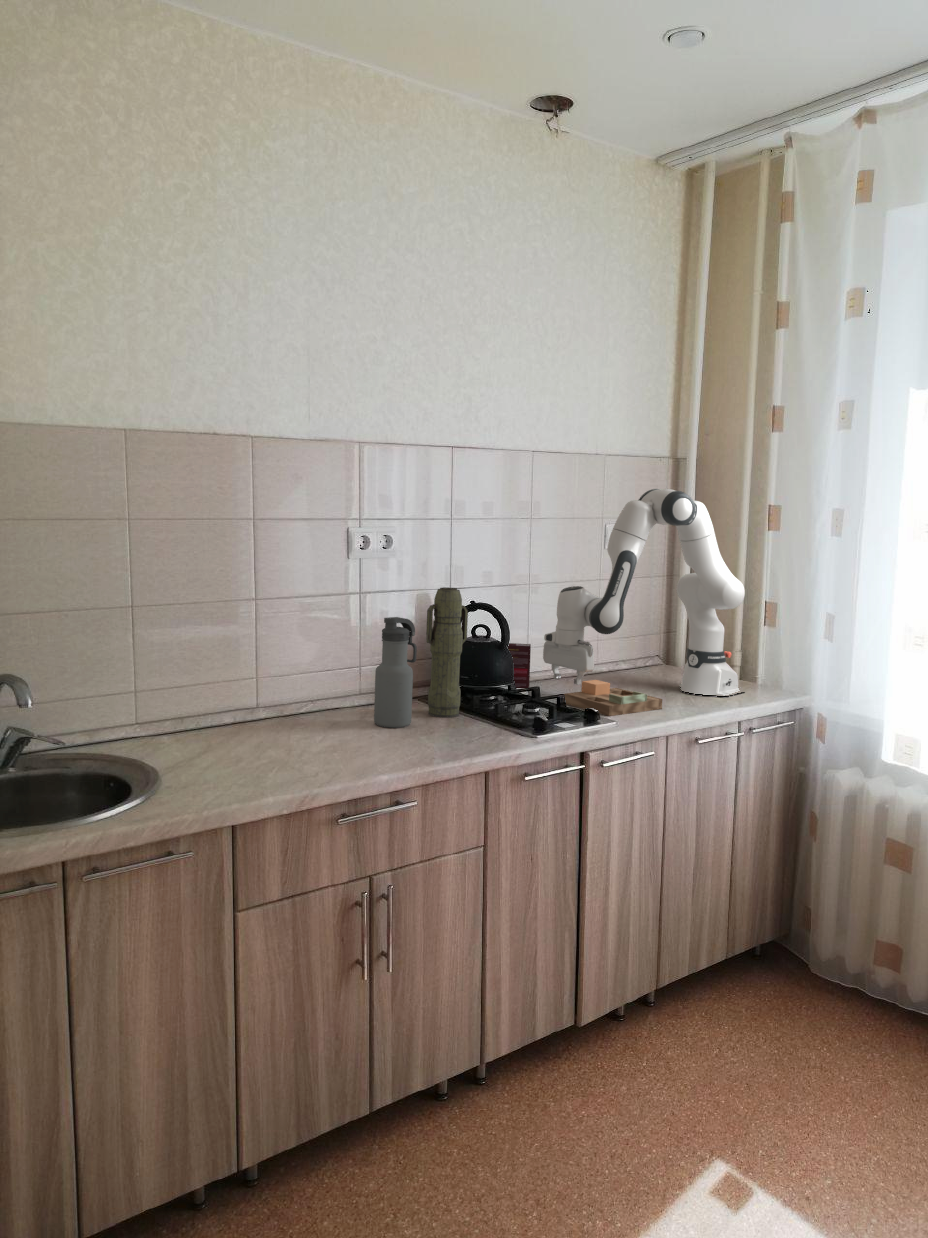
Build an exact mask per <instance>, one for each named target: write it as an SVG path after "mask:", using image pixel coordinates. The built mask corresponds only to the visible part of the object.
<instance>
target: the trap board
mask: <svg viewBox="0 0 928 1238" xmlns="http://www.w3.org/2000/svg"><path fill="white" fill-rule="evenodd" d="M564 695H565V700H566V704H565V705H568V706H572V707H574V708H579V709H582V710H585V709H586V708H594V709H596V710H598V711H599V713H600V714H599V713H598V714H599V715H603V716H607V717H612V716H613V717H614V716H620V715H627V714H628V715H629V714H637V713H643V712H649V711H657V710H658V711H659V710H662V709H663V698H659V697H656V696H651V695H648V694H647V693H643V692H639V691H635V690H634V691H632V690H628V689H624V688H619V687H613V688H612V687H610V694H602V695H592V694H588V693H585V692H581V691H575V692H567V693H566V692H565V693H564V694H563V696H564Z"/></svg>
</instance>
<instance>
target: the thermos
mask: <svg viewBox="0 0 928 1238" xmlns="http://www.w3.org/2000/svg"><path fill="white" fill-rule="evenodd" d="M433 599H434V603H433V604H431V605H429V607H428V608H427V611H426V643H427V644H430V649H429V650H430V653H431V665H430V667H431V669H430V686H429V688H428V692H427V693H428V695H427V698H428V699H427V705H428V712H427V714H428V715H429V716H431V717H435V718H448V719H449V718H456V717H458V716H460V706H461V696H462V695H461V688H460V673H461V672H460V669H461V668H460V667H461V655H462V653H463V644H464V643H465V642H466V641H467V640H468V620H469V610H468V608H467V607H466V606H465V605H463V599H462V594H461V591H460V589H458V588H456V587H448V586H447V587H445V586H443V587H440V588H438V589H437V591H436V594H435V596H434V598H433ZM433 617H434V618H433ZM433 619H434V620H433Z"/></svg>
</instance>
